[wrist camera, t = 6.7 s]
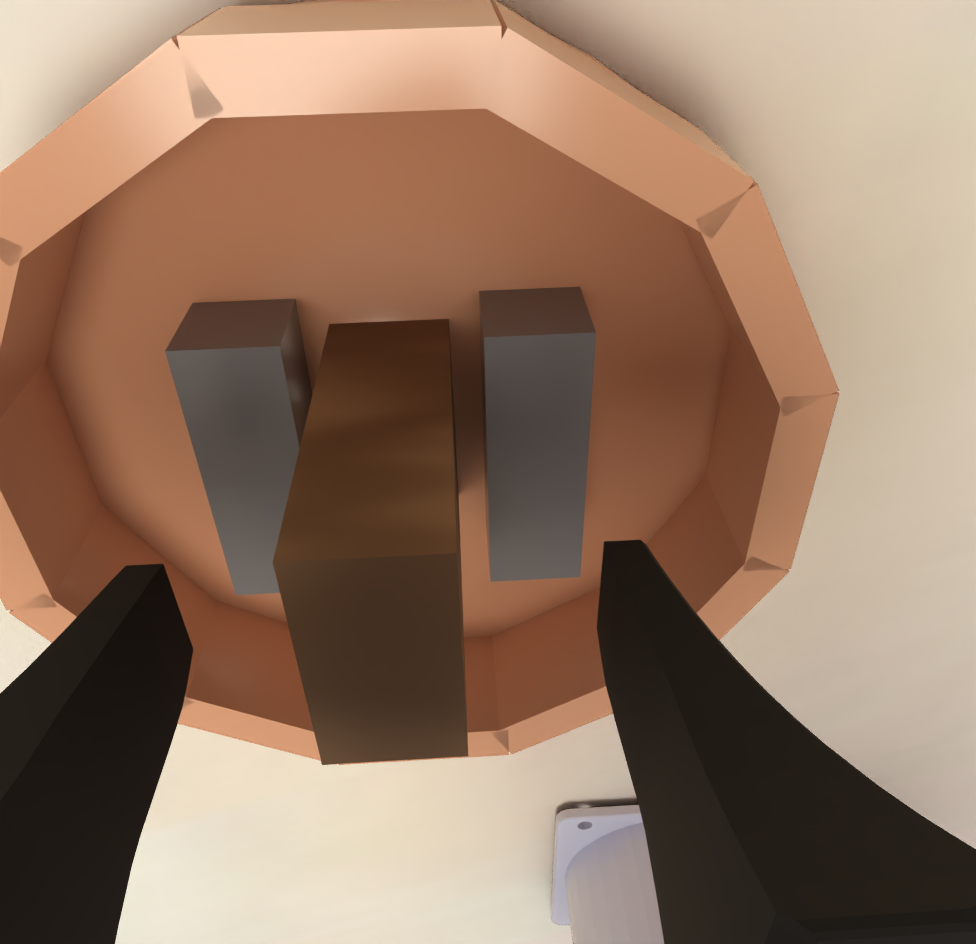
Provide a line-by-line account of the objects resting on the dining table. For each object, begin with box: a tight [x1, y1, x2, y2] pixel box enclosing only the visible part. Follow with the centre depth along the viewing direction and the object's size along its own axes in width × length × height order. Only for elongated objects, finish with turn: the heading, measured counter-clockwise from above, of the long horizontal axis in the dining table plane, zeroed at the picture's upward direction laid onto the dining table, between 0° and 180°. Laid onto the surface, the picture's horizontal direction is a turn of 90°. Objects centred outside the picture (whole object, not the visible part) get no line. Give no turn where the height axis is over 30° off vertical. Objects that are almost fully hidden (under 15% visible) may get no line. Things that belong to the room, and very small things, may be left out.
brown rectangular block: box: [273, 319, 468, 765], centre depth 15 cm, size 2×4×7 cm, turn 1°
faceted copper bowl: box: [0, 0, 839, 765], centre depth 17 cm, size 16×16×4 cm
